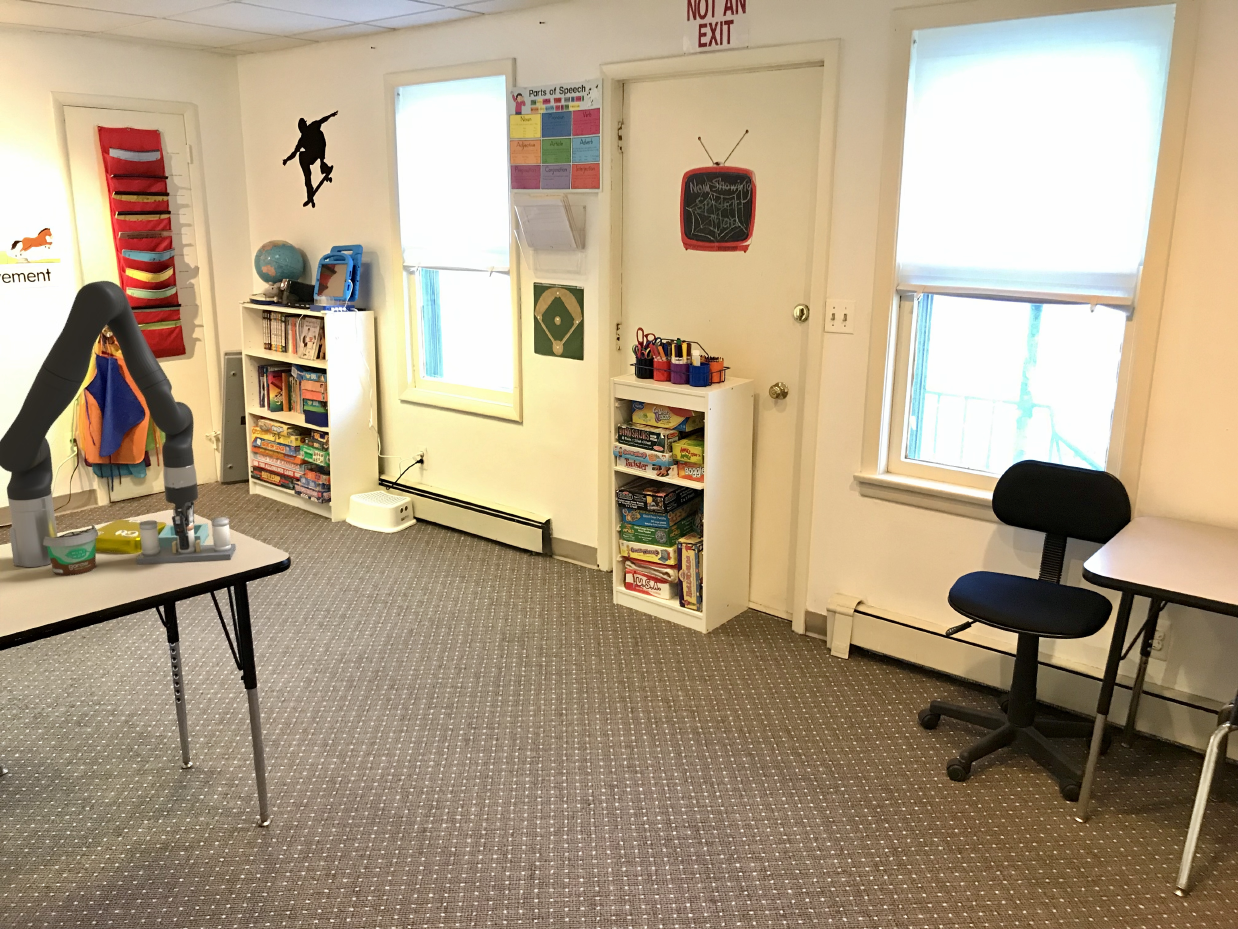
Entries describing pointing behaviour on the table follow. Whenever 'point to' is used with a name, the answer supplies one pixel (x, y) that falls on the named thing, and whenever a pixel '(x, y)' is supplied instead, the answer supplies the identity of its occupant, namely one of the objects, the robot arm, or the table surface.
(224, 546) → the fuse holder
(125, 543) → the element tile
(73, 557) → the food container
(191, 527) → the marked fuse
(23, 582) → the table surface
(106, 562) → the table surface
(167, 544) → the tray
